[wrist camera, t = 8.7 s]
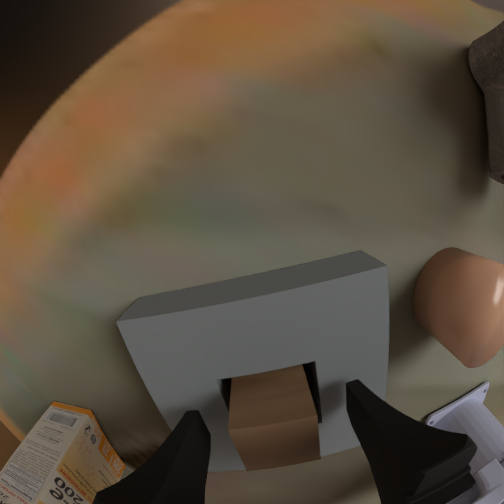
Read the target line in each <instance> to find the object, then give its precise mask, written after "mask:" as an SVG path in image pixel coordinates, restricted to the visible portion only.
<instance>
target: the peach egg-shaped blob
mask: <svg viewBox="0 0 504 504" xmlns="http://www.w3.org/2000/svg"><path fill="white" fill-rule="evenodd" d="M412 308H413V314H414V317H415V319H416V321H417V322H418V324H419V325H420V326H421V327H423V328H424V329H425V330H426V331H427V332H428V333H430V334H431V335H432V336H433V337H434V338H435V339H436V340H437V341H439V342H440V343H441V344H442V345H443V346H444V347H445V348H446V349H447V350H449V351H450V352H451V353H452V354H453V355H454V356H455V357H456V358H457V359H458V360H459V361H461V362H462V363H463V364H464V365H465V366H466V367H469V368H475V367H479V366H481V365H483V364H485V363H486V362H487V361H489V360H490V359H491V358H492V357H494V356H495V354H496V353H497V352H498V351H499V350H500V349H501V348H502V346H503V345H504V265H502V264H500V263H497V262H494V261H492V260H489V259H486V258H484V257H481V256H478V255H476V254H473V253H470V252H467V251H464V250H461V249H459V248H454V247H450V248H445V249H443V250H441V251H439V252H437V253H436V254H435V255H434V256H433V257H432V258H431V259H430V260H429V261H428V262H427V263H426V265H425V266H424V268H423V269H422V271H421V273H420V275H419V277H418V279H417V282H416V284H415V288H414V292H413V299H412Z"/></svg>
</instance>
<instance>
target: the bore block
mask: <svg viewBox="0 0 504 504" xmlns="http://www.w3.org/2000/svg"><path fill="white" fill-rule="evenodd" d="M116 323H117V325H118V328H119V330H120V332H121V335H122V337H123V339H124V342H125V344H126V346H127V349H128V351H129V353H130V355H131V357H132V359H133V362H134V364H135V366H136V368H137V370H138V372H139V374H140V376H141V378H142V380H143V382H144V384H145V386H146V388H147V389H148V391H149V393H150V395H151V397H152V399H153V401H154V402H155V404H156V406H157V408H158V409H159V411H160V413H161V415H162V416H163V418H164V420H165V421H166V423H167V425H168V426H169V428H170V429H171V431H173V430H174V428H175V427H176V425H177V424H178V422H179V421H180V420H181V418H182V417H183V415H184V414H185V412H186V411H189V410H199V412H200V414H201V416H202V418H203V420H204V422H205V424H206V426H207V428H208V430H209V432H210V434H211V453H210V460H209V466H208V472H210V471H231V470H244V469H246V468H245V466H244V464H243V462H242V460H241V458H240V456H239V453H238V451H237V449H236V447H235V445H234V442H233V440H232V438H231V436H230V434H229V431H228V421H229V408H230V394H231V381H232V377H238V376H244V375H250V374H256V373H262V372H267V371H272V370H277V369H282V368H287V367H291V366H296V365H300V364H304V363H309V368H310V375H311V382H312V389H313V390H311V391H310V392H311V396H312V399H313V402H314V406H315V409H316V413H317V418H318V429H319V441H320V455H321V456H325V455H329V454H333V453H337V452H340V451H344V450H347V449H350V448H354V447H357V446H360V445H361V444H360V442H359V440H358V438H357V436H356V434H355V432H354V430H353V428H352V425H351V422H350V419H349V416H348V413H347V410H346V382H349V381H353V380H356V379H359V380H360V381H361V382H362V383H363V384H364V385H365V386H366V387H368V388H369V389H370V390H371V391H372V392H373V393H375V394H376V395H377V396H378V397H380V398H381V399H382V400H384V401H385V397H386V387H387V374H388V357H389V286H388V268H387V265H386V264H384V263H382V262H381V261H379V260H377V259H375V258H374V257H372V256H370V255H368V254H367V253H365V252H363V251H361V250H360V251H356V252H352V253H348V254H344V255H339V256H335V257H331V258H326V259H322V260H318V261H313V262H309V263H304V264H300V265H296V266H291V267H287V268H282V269H277V270H273V271H268V272H264V273H259V274H254V275H250V276H245V277H240V278H235V279H231V280H226V281H221V282H216V283H211V284H206V285H201V286H196V287H191V288H186V289H181V290H176V291H171V292H166V293H161V294H155V295H150V296H145V297H140V298H138V299H137V300H136V301H135V302H134V303H133V304H132V305H131V306H130V307H129V308H128V309H127V310H126V312H125V313H124V314H123V315H122V316H121V317H120V318H119V319H118V320H117V321H116Z"/></svg>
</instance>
